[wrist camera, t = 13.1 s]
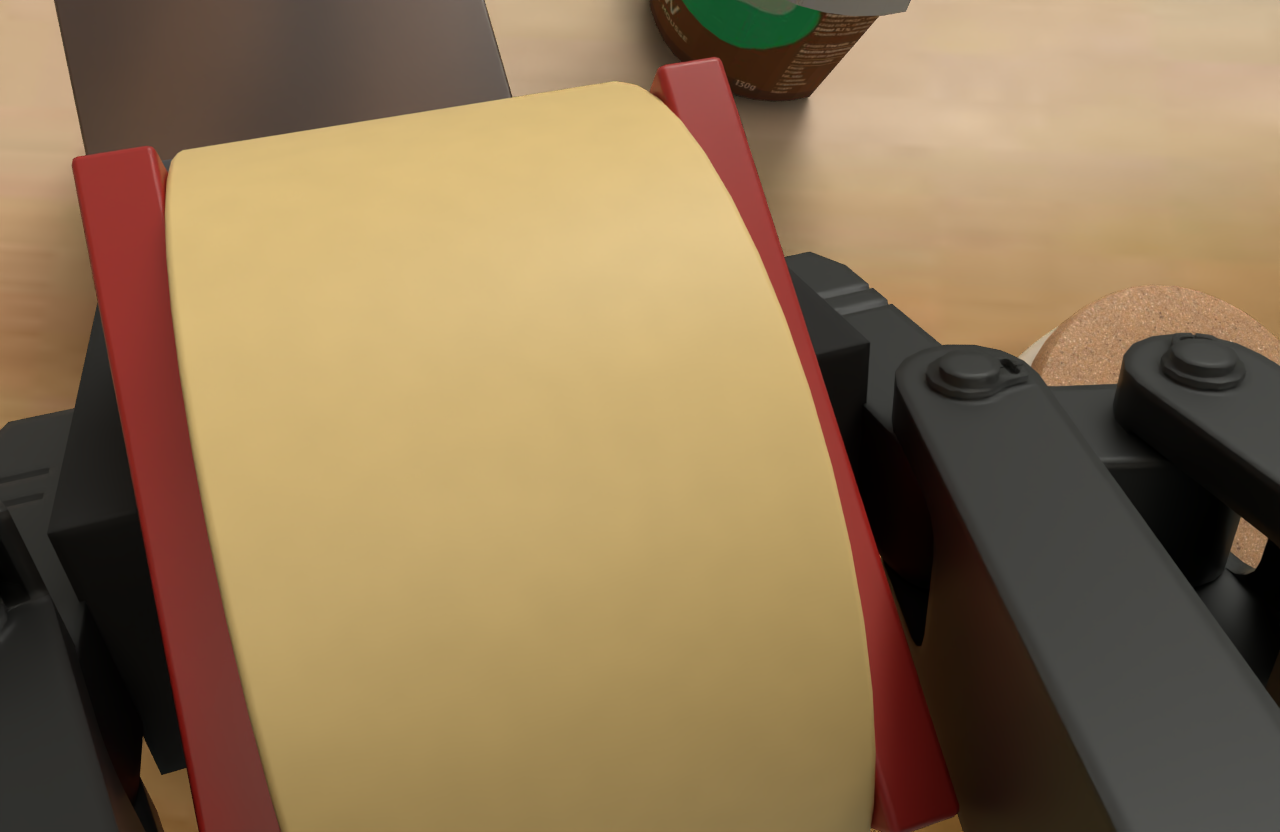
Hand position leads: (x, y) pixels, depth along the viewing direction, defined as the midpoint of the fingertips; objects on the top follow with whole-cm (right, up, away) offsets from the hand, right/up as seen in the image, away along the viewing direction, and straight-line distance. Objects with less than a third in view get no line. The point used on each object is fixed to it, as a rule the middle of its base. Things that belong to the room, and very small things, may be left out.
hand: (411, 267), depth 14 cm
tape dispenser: (+1, -4, +2) cm, 4 cm away
